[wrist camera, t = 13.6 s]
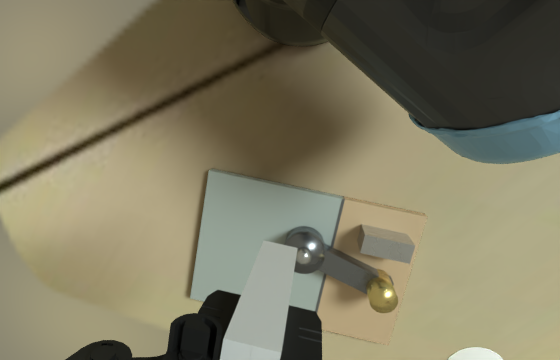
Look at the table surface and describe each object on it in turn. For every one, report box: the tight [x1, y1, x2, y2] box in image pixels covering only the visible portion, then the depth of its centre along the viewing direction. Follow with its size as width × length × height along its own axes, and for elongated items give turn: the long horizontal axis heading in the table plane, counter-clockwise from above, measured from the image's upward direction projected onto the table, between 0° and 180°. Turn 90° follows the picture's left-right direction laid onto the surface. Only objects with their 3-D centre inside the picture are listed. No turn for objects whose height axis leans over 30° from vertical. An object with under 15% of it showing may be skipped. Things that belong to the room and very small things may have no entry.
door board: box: [190, 169, 427, 345], centre depth 41 cm, size 16×24×1 cm, turn 79°
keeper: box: [357, 224, 415, 264], centre depth 37 cm, size 2×5×3 cm, turn 79°
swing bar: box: [284, 226, 398, 313], centre depth 37 cm, size 13×4×4 cm, turn 64°
